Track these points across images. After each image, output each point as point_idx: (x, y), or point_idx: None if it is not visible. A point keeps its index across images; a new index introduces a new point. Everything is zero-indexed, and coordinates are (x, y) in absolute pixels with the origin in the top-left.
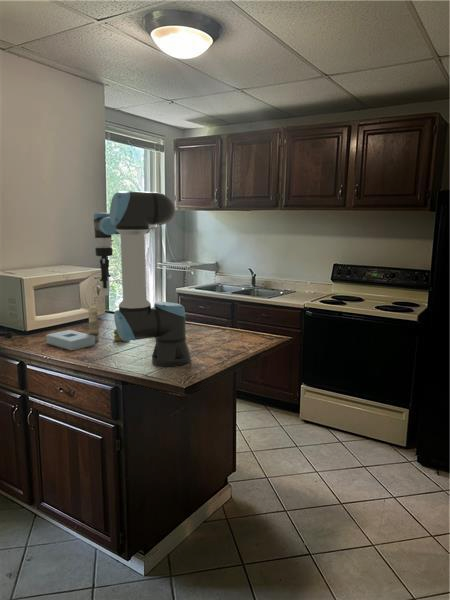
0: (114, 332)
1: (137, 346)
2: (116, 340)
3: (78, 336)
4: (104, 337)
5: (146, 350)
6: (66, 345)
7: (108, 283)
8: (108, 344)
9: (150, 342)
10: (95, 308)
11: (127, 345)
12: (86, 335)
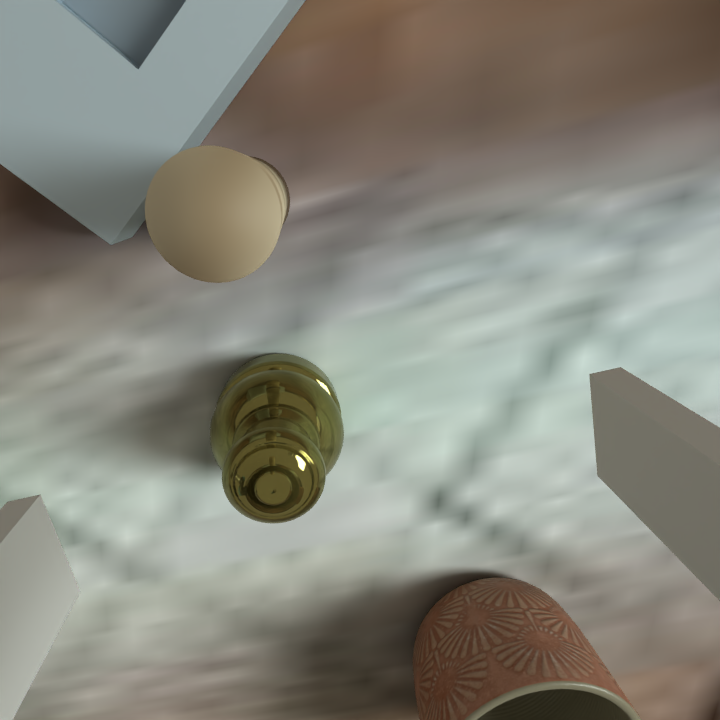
0: (232, 389)
1: (98, 548)
2: (226, 383)
3: (75, 87)
4: (362, 252)
5: None
6: None
7: (683, 548)
8: (141, 341)
9: (208, 603)
10: (180, 268)
11: (120, 480)
12: (121, 159)
